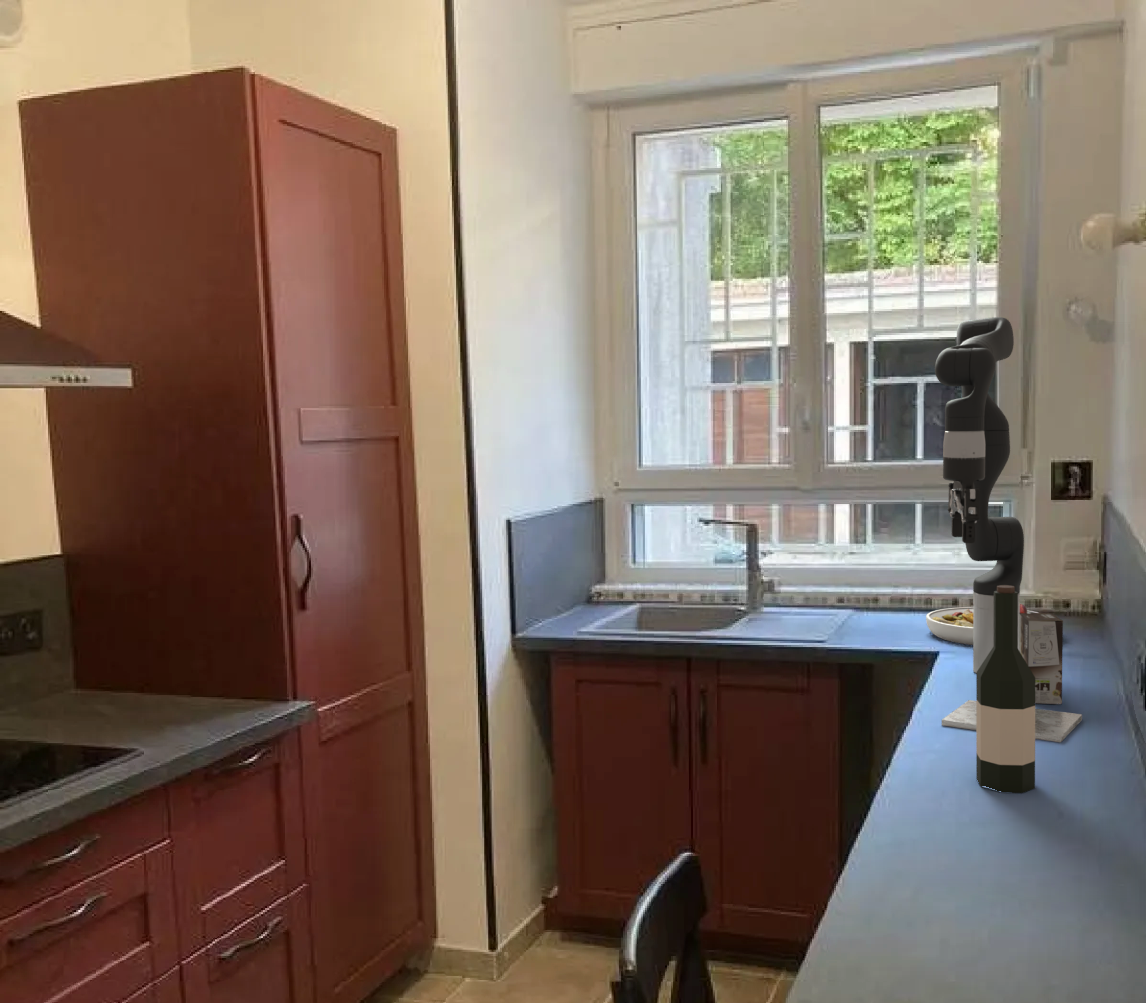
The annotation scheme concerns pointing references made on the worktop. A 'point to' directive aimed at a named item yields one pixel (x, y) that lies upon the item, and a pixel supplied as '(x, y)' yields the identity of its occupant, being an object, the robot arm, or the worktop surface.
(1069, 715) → the duct plate
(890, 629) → the worktop surface
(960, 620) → the bowl
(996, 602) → the wine bottle
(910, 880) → the worktop surface
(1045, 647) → the coffee box
